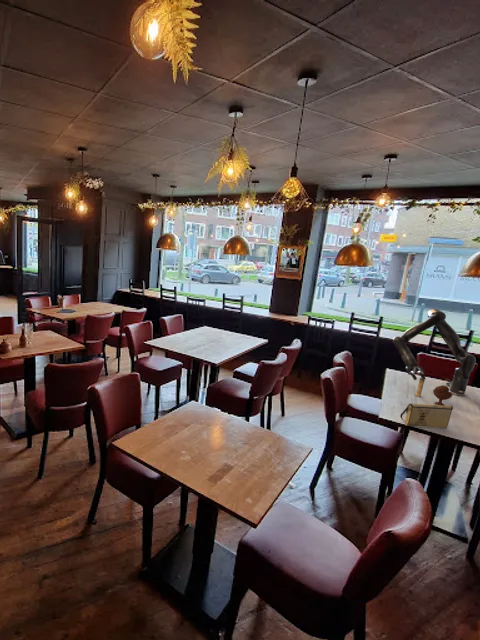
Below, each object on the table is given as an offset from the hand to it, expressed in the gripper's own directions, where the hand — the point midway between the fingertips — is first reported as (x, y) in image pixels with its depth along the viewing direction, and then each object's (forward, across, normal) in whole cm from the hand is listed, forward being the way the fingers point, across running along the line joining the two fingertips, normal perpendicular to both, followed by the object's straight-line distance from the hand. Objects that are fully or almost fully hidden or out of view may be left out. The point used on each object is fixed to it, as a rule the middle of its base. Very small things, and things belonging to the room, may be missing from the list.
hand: (420, 379), depth 258 cm
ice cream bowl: (+20, +2, -2) cm, 21 cm away
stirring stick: (+10, 0, +8) cm, 13 cm away
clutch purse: (+36, -44, -18) cm, 59 cm away
